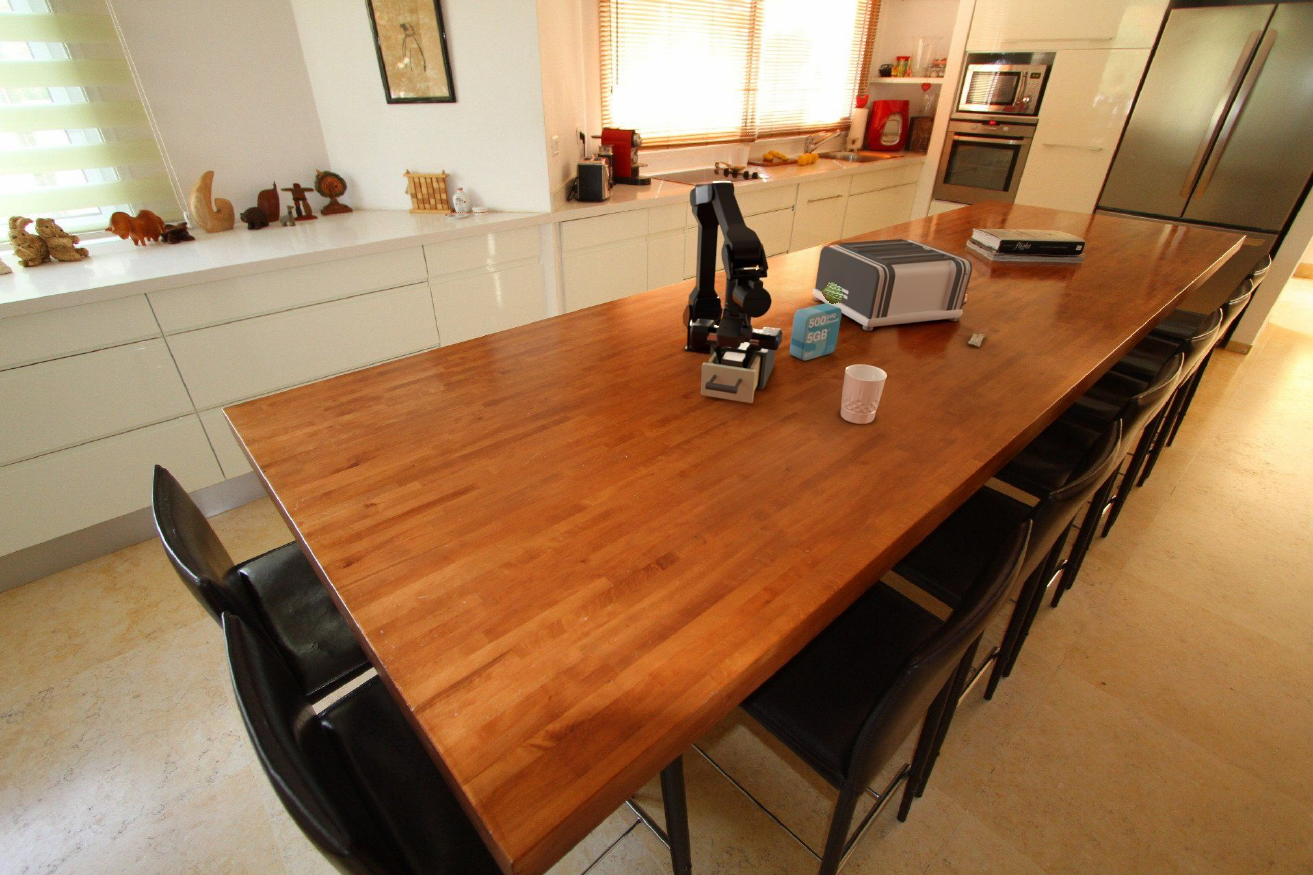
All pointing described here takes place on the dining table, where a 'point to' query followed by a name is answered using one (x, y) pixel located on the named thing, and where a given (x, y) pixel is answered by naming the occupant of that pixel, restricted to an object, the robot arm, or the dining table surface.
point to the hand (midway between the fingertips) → (733, 371)
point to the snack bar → (976, 339)
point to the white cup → (861, 393)
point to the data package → (815, 331)
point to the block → (733, 359)
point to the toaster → (894, 281)
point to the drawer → (731, 379)
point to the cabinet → (766, 362)
